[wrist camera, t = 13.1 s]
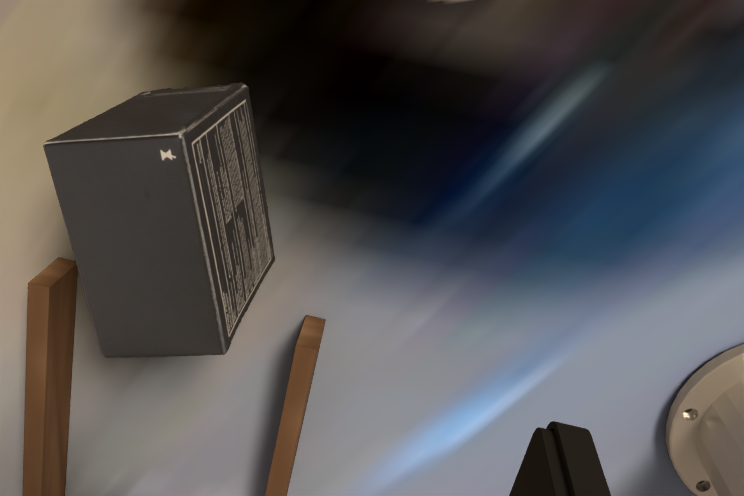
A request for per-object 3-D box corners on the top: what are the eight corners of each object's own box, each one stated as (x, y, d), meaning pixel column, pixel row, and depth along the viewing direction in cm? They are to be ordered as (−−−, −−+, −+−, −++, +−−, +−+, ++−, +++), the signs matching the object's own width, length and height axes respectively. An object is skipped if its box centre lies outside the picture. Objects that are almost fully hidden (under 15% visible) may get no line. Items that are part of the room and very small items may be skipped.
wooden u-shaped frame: (325, 319, 43) (317, 349, 40) (272, 558, 51) (261, 599, 47) (58, 257, 42) (28, 283, 39) (47, 507, 50) (21, 545, 47)
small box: (131, 89, 38) (30, 138, 29) (249, 80, 38) (186, 126, 28) (171, 268, 42) (94, 363, 33) (278, 262, 42) (231, 358, 32)
